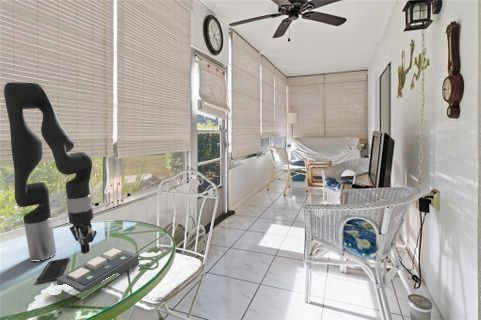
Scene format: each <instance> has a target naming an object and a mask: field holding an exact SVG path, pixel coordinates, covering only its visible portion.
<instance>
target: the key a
mask: <svg viewBox="0 0 481 320" xmlns="http://www.w3.org/2000/svg"><path fill="white" fill-rule="evenodd" d="M88 274H90V270H87V269H84V268H82V267H81V268H79V269H77V270H76V271H74V272H72V273H70V274H68V278H70V279H72V280H74V281H77V280H79V279H81V278H83V277H84V276H86V275H88Z"/></svg>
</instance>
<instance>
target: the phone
mask: <svg viewBox="0 0 481 320" xmlns="http://www.w3.org/2000/svg"><path fill="white" fill-rule="evenodd" d="M70 262H71V258H70V257H66V258H60V259H54V260H50V261H48V262H47V264H46V265H45V267H44V269H43V270H42V272H41V273H40V274H39V277H38V278H37V280H36V283H37V284H43V283H48V282H53V281H57V278H58V277H60V276H62V275H64V274H65V273H66V270H67V268H68V266H69V264H70Z"/></svg>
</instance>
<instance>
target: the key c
mask: <svg viewBox="0 0 481 320" xmlns="http://www.w3.org/2000/svg"><path fill="white" fill-rule="evenodd" d="M115 248H116V247H113V248H112V249H110V250H107V251H105V252H104V253H102V254H103V258H105V259H107V260H110V261H112V260H114V259H116V258H118V257H119V256H121V255H122V251H121V250H118V249H119V248H118V249H115Z"/></svg>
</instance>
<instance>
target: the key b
mask: <svg viewBox="0 0 481 320" xmlns="http://www.w3.org/2000/svg"><path fill="white" fill-rule="evenodd" d="M99 256H100V255H98V256H96V257H94V258H93V259H91V260H89V261H86V262H85V263H86V264H87V268H90V269H92V270H97V269H98V268H100V267H102V266H104V265H105V264H107V259H105V258H102V257H99Z"/></svg>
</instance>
